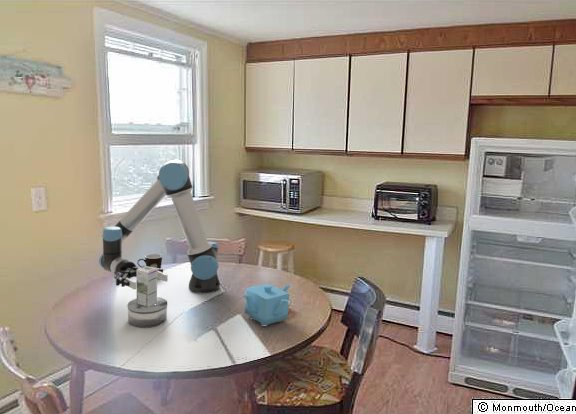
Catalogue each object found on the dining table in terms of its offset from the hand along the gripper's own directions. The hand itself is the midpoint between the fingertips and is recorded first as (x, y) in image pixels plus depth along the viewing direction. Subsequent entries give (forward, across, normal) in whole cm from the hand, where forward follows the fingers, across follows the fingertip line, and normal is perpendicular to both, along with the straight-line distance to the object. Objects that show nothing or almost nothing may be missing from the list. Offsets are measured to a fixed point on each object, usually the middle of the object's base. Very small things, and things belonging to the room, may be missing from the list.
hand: (151, 282), depth 161 cm
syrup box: (-3, 0, -10) cm, 10 cm away
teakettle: (+30, -35, -17) cm, 49 cm away
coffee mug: (-49, -30, -17) cm, 60 cm away
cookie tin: (-3, 0, -17) cm, 17 cm away
